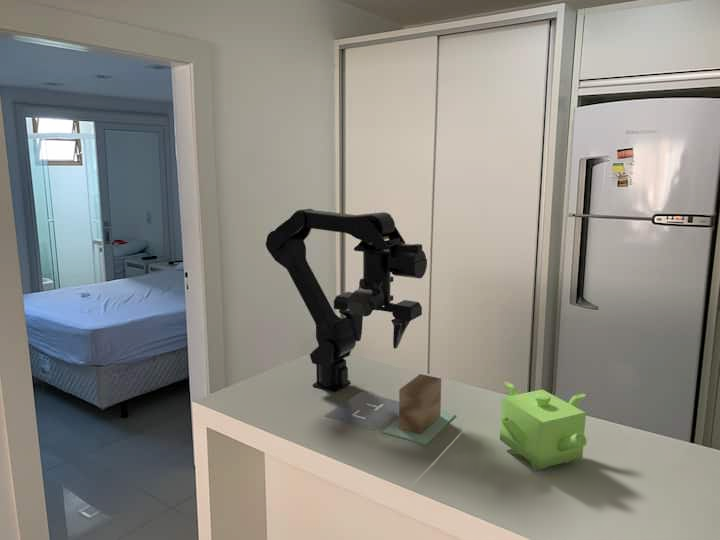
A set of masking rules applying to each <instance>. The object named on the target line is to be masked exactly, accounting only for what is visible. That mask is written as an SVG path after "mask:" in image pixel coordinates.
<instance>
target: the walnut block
mask: <svg viewBox="0 0 720 540" xmlns="http://www.w3.org/2000/svg"><path fill="white" fill-rule="evenodd" d="M398 392H399V393H398V395H399V397H398V398H399V399H398V401H399V413H398V418H399V429H402V430H405V431H409V432H413V433H416V434H420V435H421V434H422V433H423V432H424V431H425V430H426V429H427V428H429V427H430V426H431V425H432V424H433V423H434V422H435V421H436V420H437V419H438V418H439V417H440V411H442V409H441V407H442V406H441V405H442V402H441V401H442V378H440V377H435V376H432V375H427V374H421V373H420V374H418V375H417V376H416V377H414V378H413V379H412V380H410V381H409V382H407V383H406V384H405V385H403V386H402V387H401V388H400V389H399V391H398Z"/></svg>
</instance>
